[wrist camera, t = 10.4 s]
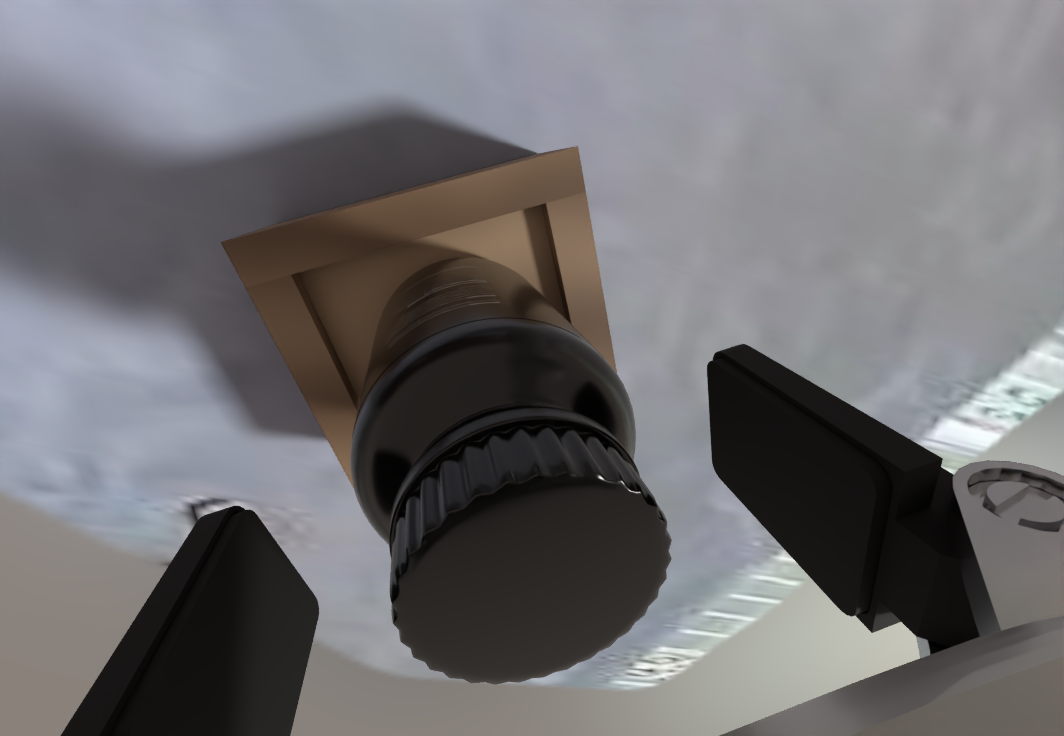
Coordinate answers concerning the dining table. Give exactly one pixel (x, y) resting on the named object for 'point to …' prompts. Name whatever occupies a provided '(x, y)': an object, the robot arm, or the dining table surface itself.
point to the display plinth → (415, 268)
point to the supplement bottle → (502, 479)
